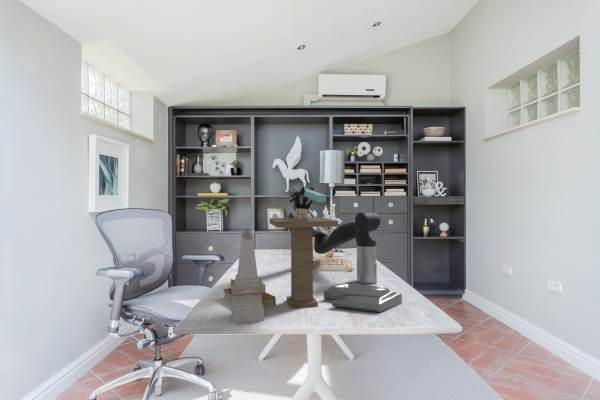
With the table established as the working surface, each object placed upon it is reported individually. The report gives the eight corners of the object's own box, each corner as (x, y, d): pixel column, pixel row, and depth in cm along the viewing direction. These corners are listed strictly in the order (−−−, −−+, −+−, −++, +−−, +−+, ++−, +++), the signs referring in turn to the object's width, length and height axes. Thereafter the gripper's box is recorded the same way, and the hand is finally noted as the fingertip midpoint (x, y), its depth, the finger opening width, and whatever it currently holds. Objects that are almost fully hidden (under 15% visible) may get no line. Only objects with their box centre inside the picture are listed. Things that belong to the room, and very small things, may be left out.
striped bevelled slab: (339, 301, 117) (318, 282, 144) (339, 317, 117) (318, 295, 144) (414, 296, 123) (380, 278, 150) (414, 311, 123) (380, 291, 150)
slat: (302, 194, 153) (302, 189, 152) (308, 194, 153) (308, 189, 153) (318, 202, 125) (318, 195, 125) (326, 202, 126) (326, 195, 126)
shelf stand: (269, 296, 141) (269, 208, 140) (322, 293, 145) (321, 208, 145) (277, 314, 119) (276, 210, 119) (338, 310, 124) (338, 209, 123)
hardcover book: (249, 294, 147) (249, 284, 147) (275, 306, 130) (275, 295, 130) (223, 298, 140) (223, 288, 140) (246, 312, 123) (246, 300, 123)
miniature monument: (265, 321, 113) (265, 229, 113) (233, 324, 110) (232, 230, 110) (260, 311, 123) (260, 227, 123) (230, 313, 120) (230, 227, 120)
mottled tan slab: (300, 277, 189) (355, 276, 189) (300, 266, 189) (355, 264, 188) (301, 264, 217) (349, 262, 217) (301, 254, 217) (349, 252, 216)
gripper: (316, 214, 162) (325, 196, 147) (286, 214, 159) (292, 196, 144) (314, 200, 166) (322, 181, 151) (285, 200, 163) (291, 180, 148)
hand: (307, 188), depth 148 cm, fingers closed on slat, 3 cm apart
